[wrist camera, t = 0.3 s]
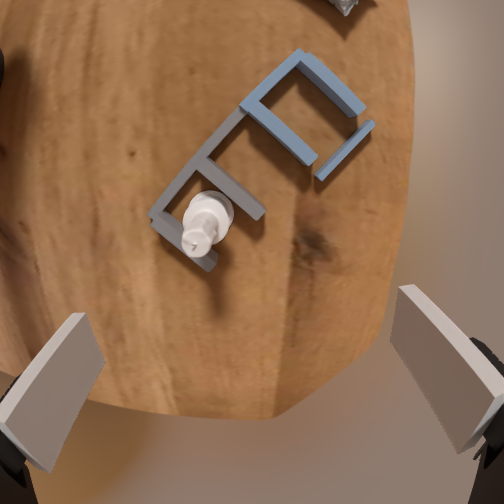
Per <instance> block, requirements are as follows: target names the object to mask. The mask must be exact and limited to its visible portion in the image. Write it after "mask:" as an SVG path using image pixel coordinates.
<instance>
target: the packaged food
mask: <svg viewBox="0 0 504 504" xmlns="http://www.w3.org/2000/svg"><path fill="white" fill-rule="evenodd" d="M328 1H329V2H331V3H332V4H333V5H334V6H335V7H336V8H337V9H339V10H340V12H342V14H343V15H344V16H347V15H348V14H349V12H350V10H351V8H352V7H353V5H354V4H357V5H358V2H359V0H328Z"/></svg>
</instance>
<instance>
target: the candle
mask: <svg viewBox="0 0 504 504" xmlns="http://www.w3.org/2000/svg"><path fill="white" fill-rule="evenodd" d="M233 218H234V209H233V205H232V203H231V201H230V200H229V199H228V197H226V196H225V195H224V194H222V193H220V192H218V191H213V190H208V191H203V192H201V193H199V194H197V195H196V196H195V197H194V198H193V199H192V201H191V202H190V204H189V208H188V209H187V210H186V212H185V214H184V217H183V227H184V231H183V234H182V242H181V244H182V248H183V250H184V252H185V253H186V254H187V255H188V256H189V257H191V258H199V257H203V256H205V255H206V254H207V253H208V252H209V250H210V249H211V246H212V245H213V244H216V243H218V242H219V241H221V240H222V239H223V238H224V237H225V235H226V234H227V232H228V229H229V227H230V225H231V223H232V221H233Z"/></svg>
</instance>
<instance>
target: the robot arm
mask: <svg viewBox="0 0 504 504" xmlns="http://www.w3.org/2000/svg"><path fill="white" fill-rule="evenodd" d="M3 69H4V59H3V54H2V51H1V49H0V85H1V81H2V76H3ZM390 342H391V343H392V345H393V346H394V348H395V350H396V351H397V353H398V354H399V356H400V357H401V359H402V360H403V362H404V363H405V365H406V367H407V368H408V370H409V371H410V373H411V374H412V376H413V378H414V379H415V381H416V383H417V384H418V386H419V388H420V389H421V391H422V392H423V394H424V396H425V398H426V399H427V401H428V403H429V404H430V406H431V408H432V409H433V411H434V413H435V415H436V416H437V418H438V420H439V421H440V423H441V425H442V427H443V429H444V430H445V432H446V434H447V436H448V438H449V439H450V441H451V443H452V445H453V447H454V449H455V451H456V452H457V454H460V453H461V452H464V451H465V450H467V449H469V448H471V447H473V446H475V445H476V443H477V442H478V441H479V439H480V438H481V437H482V435H483V436H484V437H485V439H486V442H485V443H484V444H483V445H482V447H481V448H480V449H479V450H478V452H477V453H476V454H475V456H474V458H473V460H476V459H477V458H478V456H479V455H480V454H481V457H480V460H479V461H480V462H479V466H478V470H477V474H476V478H475V482H474V485H473V489H472V492H471V495H470V499H469V501H468V504H504V364H503V363H502V362H501V361H499V359H498V358H497V357H496V356H495V355H494V354H492V351H491V350H490V349H489V348H488V347H487V346H486V345H485V344H484V343H482V342H481V341H479V340H477V339H475V338H473V337H472V338H468V337H466V335H465V334H464V333H463V332H462V331H461V330H460V329H459V328H458V327H457V326H456V325H455V324H454V323H453V322H452V321H451V320H450V319H449V318H448V317H447V316H446V315H445V314H444V313H443V312H442V311H441V310H440V309H439V308H438V307H437V306H436V305H435V304H434V303H433V302H432V301H431V300H430V299H429V298H428V297H427V296H426V295H425V294H424V293H422V292H421V291H420V290H419V289H418V288H417V287H416V286H415V285H414V284H412V285H406V286H400V287H399V288H398V295H397V302H396V309H395V315H394V321H393V326H392V332H391V337H390ZM105 363H106V362H105V360H104V357H103V355H102V353H101V350H100V348H99V346H98V343H97V341H96V338H95V336H94V333H93V331H92V328H91V326H90V323H89V320H88V318H87V315H86V313H72V314H71V315H70V316H69V318H68V319H67V320H66V321H65V322H64V323H63V324H62V326H61V327H60V328H59V329H58V330H57V331H56V333H55V334H54V335H53V336H52V337H51V338H50V340H49V341H48V342H47V343H46V344H45V346H44V347H43V348H42V349H41V351H40V352H39V353H38V354H37V356H36V357H35V358H34V359H33V361H32V362H31V363H30V364H29V366H28V367H27V368H26V370H25V371H24V372H23V373H22V374H20V375H19V376H18V377H17V378H16V379H15V380H14V381H13V383H12V384H11V385H10V388H8V390H7V391H6V392H5V395H3V396H2V398H1V399H0V504H38V501H37V498H36V495H35V492H34V488H33V484H32V481H31V477H30V473H29V470H28V467H27V466H26V465H25V464H24V463H25V461H26V459H27V460H28V461H29V462H30V463H31V464H32V465H33V466H34V467H35V468H37V469H39V470H42V471H45V472H47V473H51V472H52V469H53V467H54V464H55V462H56V460H57V457H58V456H59V453H60V451H61V449H62V447H63V445H64V442H65V440H66V438H67V436H68V434H69V432H70V430H71V428H72V426H73V424H74V422H75V420H76V418H77V416H78V414H79V412H80V410H81V408H82V406H83V404H84V402H85V400H86V398H87V396H88V394H89V392H90V390H91V389H92V387H93V385H94V383H95V381H96V379H97V377H98V375H99V374H100V372H101V370H102V368H103V366H104V365H105Z"/></svg>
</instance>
